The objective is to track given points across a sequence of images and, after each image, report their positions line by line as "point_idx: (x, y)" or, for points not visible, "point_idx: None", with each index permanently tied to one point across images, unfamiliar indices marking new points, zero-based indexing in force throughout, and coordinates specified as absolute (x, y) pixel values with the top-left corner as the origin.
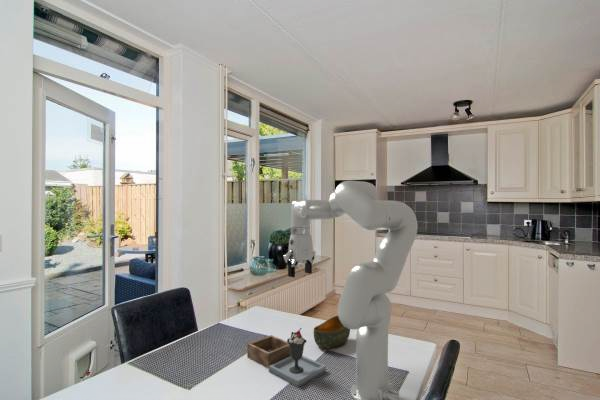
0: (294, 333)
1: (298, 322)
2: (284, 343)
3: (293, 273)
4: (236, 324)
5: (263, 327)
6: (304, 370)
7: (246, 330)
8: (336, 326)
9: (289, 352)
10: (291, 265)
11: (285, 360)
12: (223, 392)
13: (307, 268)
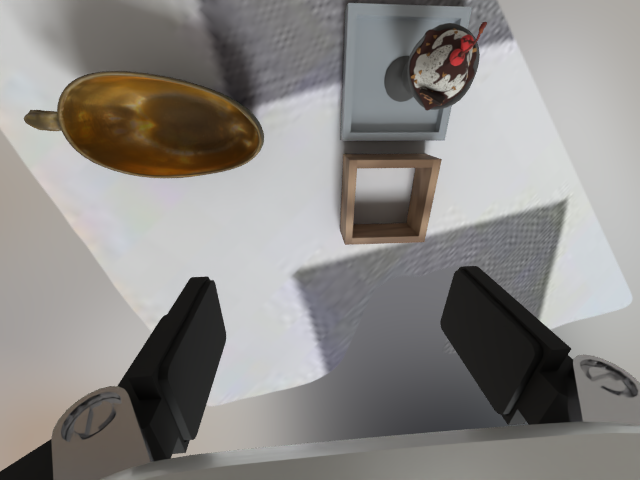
0: (463, 72)
1: (176, 295)
2: (355, 184)
3: (497, 292)
4: (309, 361)
5: (274, 321)
6: (392, 58)
7: (315, 328)
8: (124, 155)
9: (356, 156)
10: (631, 380)
11: (394, 132)
12: (552, 142)
13: (205, 351)
